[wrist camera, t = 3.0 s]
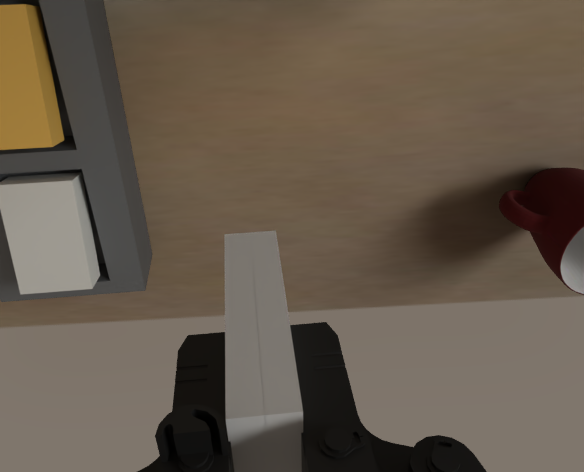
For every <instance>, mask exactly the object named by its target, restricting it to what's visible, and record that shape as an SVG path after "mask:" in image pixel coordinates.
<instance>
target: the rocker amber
mask: <svg viewBox="0 0 584 472" xmlns="http://www.w3.org/2000/svg"><path fill="white" fill-rule="evenodd" d="M62 141H64V135H63V130H62V125H61V119H60V114H59V108H58V103H57V98H56V92H55V87H54V82H53V76H52V71H51V65H50V60H49V55H48V49H47V44H46V39H45V33H44V28H43V22H42V17H41V12H40V7H39V6H33V5H27V4H16V5H0V150H9V149H26V148H44V147H54V146H55V145H57V144H59V143H60V142H62Z"/></svg>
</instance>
